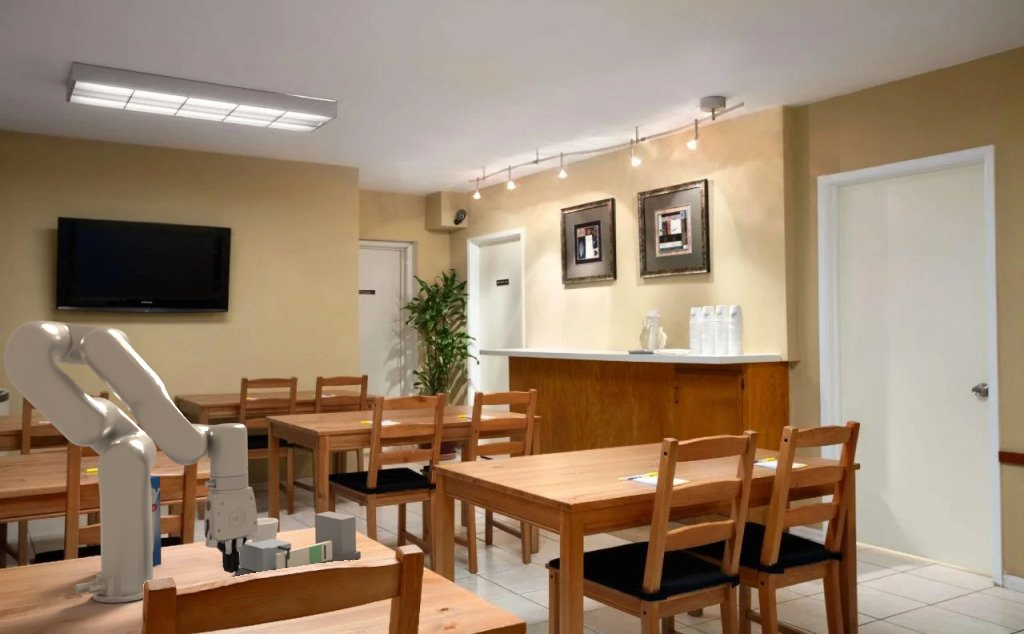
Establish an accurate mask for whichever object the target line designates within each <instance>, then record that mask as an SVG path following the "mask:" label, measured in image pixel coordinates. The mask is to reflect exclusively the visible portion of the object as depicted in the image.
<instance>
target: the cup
mask: <svg viewBox="0 0 1024 634" xmlns="http://www.w3.org/2000/svg"><path fill="white" fill-rule="evenodd" d="M257 523H258V528H257V532H256V533H255V537H254V538H252V539H251V542H252V543H256V542H260V541H264V540H269V539H276V540H277V535H278V528H279V527H278V526H279V520H278V519H277V518H275V517H263V518H257Z"/></svg>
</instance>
